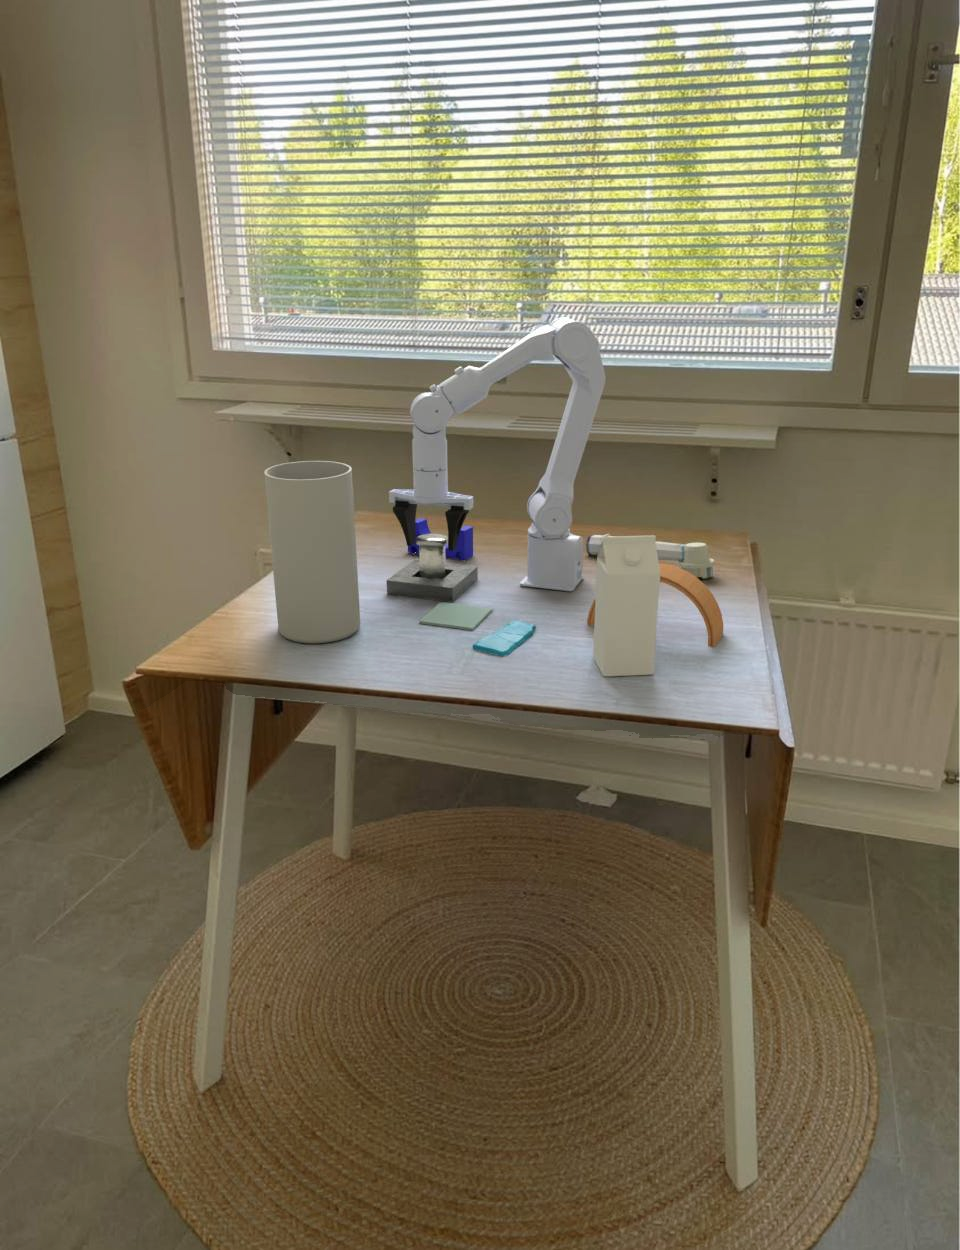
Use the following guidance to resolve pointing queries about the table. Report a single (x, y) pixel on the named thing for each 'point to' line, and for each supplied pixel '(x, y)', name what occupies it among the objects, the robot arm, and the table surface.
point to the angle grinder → (670, 554)
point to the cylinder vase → (313, 550)
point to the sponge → (506, 638)
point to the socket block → (432, 582)
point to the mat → (456, 616)
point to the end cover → (432, 555)
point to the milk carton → (626, 605)
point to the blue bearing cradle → (461, 552)
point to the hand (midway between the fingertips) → (431, 546)
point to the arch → (694, 592)
